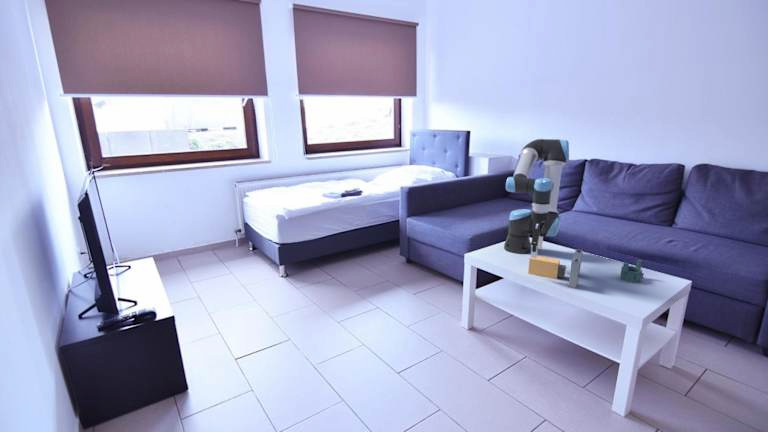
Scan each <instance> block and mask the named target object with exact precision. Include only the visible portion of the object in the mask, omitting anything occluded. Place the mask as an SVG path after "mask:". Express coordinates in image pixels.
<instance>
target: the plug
mask: <svg viewBox="0 0 768 432" xmlns="http://www.w3.org/2000/svg"><path fill="white" fill-rule="evenodd" d="M560 263H561V260H560V259H557V258H551V257H544V256H539V255H537V258H531V256H530V257H529V261H528V272H527V274H528V275H533V276H534V275H535V276H539V277H543V278H549V279H555V280H557V279H558V278H565V276H566V270H567V269H566V268H567V265H563V264H560Z"/></svg>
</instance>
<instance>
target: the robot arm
mask: <svg viewBox="0 0 768 432" xmlns="http://www.w3.org/2000/svg"><path fill="white" fill-rule="evenodd" d="M519 157H520V158H519V160H518V163H517V166H516V169H515V171H514V173H513V176H508V177H507V179H506V182H505V190H506V191H507V192H508V193H509V192H510V193H516V194H517V193H518V194H529V195H533V200H532V203H531V204H530V205H531V206H532V208H531V209H524V208H522V209H521V208H520V209H515V210H512V211H511V212H510V213H509V214H510V215H509V219H508V222H509V223H508V234H507V237H506V239H505V242H504V244H503V250H505V251H507V252H509V253H512V254H513V253H514V254H529V253H530V257H531V258H537V256H538V250H543V241H544V237H545V236H546V237H555V236H557V234H558V231H559V228H560V225H561V221H562V216H561V215H560V212H559V211H558V209H557V208H558V202H559V201H558V200H559V194H560V186H561V185H560V184H561V179H562V171H563V167H564V166H565V165H566V164H567V162H569V161H570V145H569V141H568V140H567V139H561V138H558V139H557V138H555V139H546V138H538V139H534V140H531V141H530V142H529V143H526V144H525V145H524V146H523V147H522V149H521V151H520V154H519ZM537 160H539V161H542V164H543V165H544V166H545V168H544V175H543V177H542V178H530V175H531V172H532V170H533V167H534V164H535V162H536V161H537ZM530 235H532V237H531V239H530Z"/></svg>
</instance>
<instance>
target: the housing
mask: <svg viewBox="0 0 768 432" xmlns="http://www.w3.org/2000/svg"><path fill="white" fill-rule="evenodd" d="M583 252H584V249H580V248H579V249H577V248H575V251H574V254H573V255H572V256H573V257H572V260H571V265H570V271H569V272H570V273H569V280H568V288H572V289H577V285H578V279H580V275H581V266H582V259H583V254H584V253H583Z"/></svg>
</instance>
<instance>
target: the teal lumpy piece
mask: <svg viewBox="0 0 768 432" xmlns="http://www.w3.org/2000/svg"><path fill="white" fill-rule="evenodd" d="M642 263H643V260H642V259H637V260H636V265H635V266H632V265H630V263H629V262H624V263H623V265H622V266H621V268H620V274H619V278H620V279H621V280H622V281H625V282H628V283H634V284H636V283H640V282H641V281H642V280H643V279H644V273H643V270H642Z"/></svg>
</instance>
